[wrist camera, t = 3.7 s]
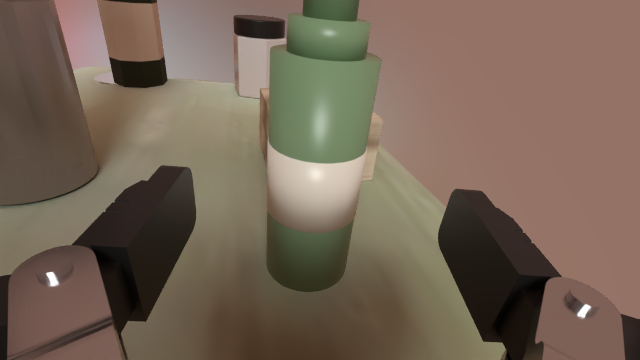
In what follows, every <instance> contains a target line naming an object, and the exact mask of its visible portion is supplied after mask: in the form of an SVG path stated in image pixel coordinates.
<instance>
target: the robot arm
mask: <svg viewBox="0 0 640 360" xmlns="http://www.w3.org/2000/svg"><path fill="white" fill-rule="evenodd" d="M97 171H98V164H97V160H96V156H95V153H94V149H93V145H92V141H91V138H90V134H89V130H88V125H87V122H86V118H85V114H84V110H83V107H82V103H81V99H80V96H79V92H78V88H77V84H76V81H75V77H74V73H73V70H72V66H71V62H70V59H69V55H68V51H67V47H66V43H65V40H64V36H63V32H62V29H61V25H60V21H59V18H58V14H57V10H56V6H55V3H54V0H0V205H15V204H24V203H31V202H37V201H41V200H45V199H49V198H53V197H56V196H59V195H62V194H65V193H68V192H70V191H72V190H74V189H77V188H79V187H80V186H82V185H84V184H85V183H87V182H88V181H89V180H91V179H92V178H93V177H94V176H95V174H96V173H97ZM195 221H196V206H195V197H194V189H193V180H192V173H191V170H190V168H188V167H177V166H164V165H163V166H160V167H159V168H158V170H157V171H156V172H155V173H154V174H153V175H152V176H151V177H150V179H149V180H148V181H143V180H141V181H140V182H138V183H136V184H134V185H132V186H130V187H128V188H127V189H125V190H124V191H123V192H122V193H121V194H120V195H119V196H118V197H117V198H116V199H115V202H114V203H112V204H111V205H110V206H109V207H108V208H107V209H106V212H103V213H102V214H101V215H100V216H99V217H98V218H97V219H96V220H95V221H94V222H93V223H92V224H91V225H90V226H89V228H88V229H87V230H86V231H85V232H84V233H83V234H82V235H81V236H80V237H79V238H78V239H77V240H76V241H75V242H74V243H73V244H72V245H69V246H61V247H56V248H52V249H49V250H46V251H43V252H41V253H39V254H37V255H35V256H33V257H31V258H29V259H28V260H26V261H25V262H23V263H22V264H21V265H19V266H18V267H17V268H16V269H15V271H14V272H13V273H12V274H11V275H5V276H0V360H128V356H127V353H126V349H125V346H124V342H123V339H122V336H121V332H122V330H123V328H124V327H125V325H126V323H127V321H144V322H146V320H147V318H148V316H149V314H150V313H151V311H152V309H153V307H154V305H155V303H156V301H157V299H158V297H159V295H160V293H161V291H162V289H163V287H164V285H165V284H166V282H167V280H168V278H169V276H170V274H171V272H172V270H173V268H174V266H175V264H176V262H177V260H178V258H179V256H180V255H181V253H182V251H183V249H184V247H185V245H186V243H187V241H188V239H189V237H190V235H191V233H192V231H193V229H194V226H195ZM438 243H439V247H440V250H441V252H442V254H443V256H444V258H445V260H446V263H447V265H448V267H449V269H450V271H451V273H452V275H453V278H454V280H455V282H456V284H457V286H458V288H459V290H460V293H461V295H462V297H463V299H464V301H465V303H466V305H467V308H468V310H469V312H470V314H471V316H472V318H473V320H474V323H475V325H476V327H477V329H478V331H479V333H480V335H481V338H482V340H483V341H484V342H502V343H503V344H504V346H505V348H506V350H505V352H504V353H503V355H502V357H501V360H640V319H636V318H633V317H629V316H626V315H623V314H620V313H619V311H618V309H617V308H616V307H615V305H614V304H613V303H612V302H611V301H610V300H609V299H608V298H607V297H605V296H604V295H603V294H601V293H600V292H598V291H597V290H595V289H594V288H592V287H590V286H588V285H586V284H584V283H582V282H579V281H577V280H573V279H570V278H565V277H562V276H561V275H560V274H559V273H558V272H557V270H556V269H555V268H554V267H553V266H552V264H551V263H550V262H549V261H548V260H547V259H546V257H545V256H544V255H543V254H542V253H541V251H540V250H539V249H538V248H537V247H536V246H535V244H533V243H531V240H530V239H529V237H528V236H527V235H526V234H525V233H523V230H522V229H521V228H520V227H519V225H518V224H517V223H516V222H515V221H514V219H513V218H511V217H510V216H508V215H507V214H505V213H504V212H503V211H501V210H500V209H498V208H496V207H495V206H494V205H493V204H492V202H491V201H490V200H489V199H488V198H487V196H486V195H485V194H484V193H483V192H482V191H477V190H464V189H455V190H454V191H453V192H452V194H451V196H450V199H449V202H448V205H447V208H446V211H445V213H444V216H443V219H442V222H441V225H440V228H439V233H438Z"/></svg>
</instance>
